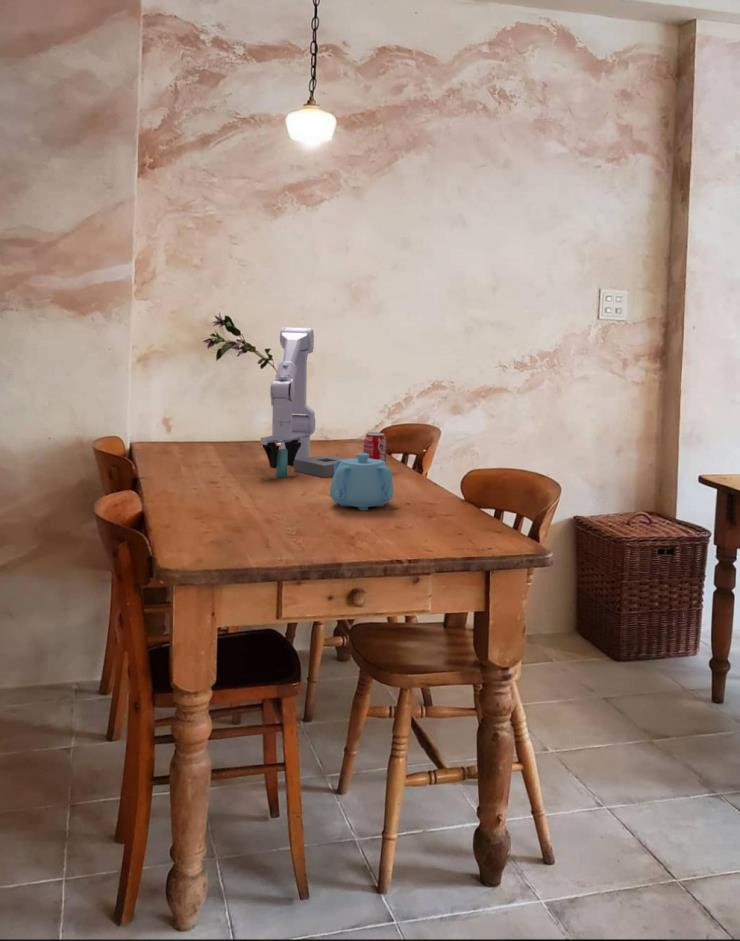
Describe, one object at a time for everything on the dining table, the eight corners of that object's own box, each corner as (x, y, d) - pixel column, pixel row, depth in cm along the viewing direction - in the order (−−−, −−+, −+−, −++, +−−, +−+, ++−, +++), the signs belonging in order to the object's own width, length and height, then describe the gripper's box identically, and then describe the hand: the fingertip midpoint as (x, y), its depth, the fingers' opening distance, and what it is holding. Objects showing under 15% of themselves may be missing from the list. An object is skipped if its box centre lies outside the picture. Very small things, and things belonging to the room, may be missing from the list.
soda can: (386, 470, 291) (387, 432, 289) (384, 474, 284) (385, 435, 282) (364, 469, 292) (365, 431, 290) (361, 473, 285) (362, 434, 283)
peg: (273, 476, 277) (273, 449, 275) (282, 474, 279) (282, 448, 277) (280, 477, 274) (281, 451, 273) (289, 476, 276) (289, 450, 275)
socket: (294, 470, 286) (294, 459, 286) (328, 466, 296) (328, 455, 295) (324, 477, 276) (324, 465, 276) (358, 472, 286) (358, 461, 285)
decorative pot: (332, 498, 248) (333, 448, 245) (392, 499, 247) (393, 449, 245) (328, 511, 232) (328, 458, 229) (392, 513, 231) (393, 459, 229)
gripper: (271, 424, 266) (270, 471, 268) (309, 421, 276) (309, 466, 278) (256, 421, 271) (255, 467, 273) (294, 418, 281) (294, 462, 283)
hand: (281, 466), depth 276 cm, fingers open, 6 cm apart
